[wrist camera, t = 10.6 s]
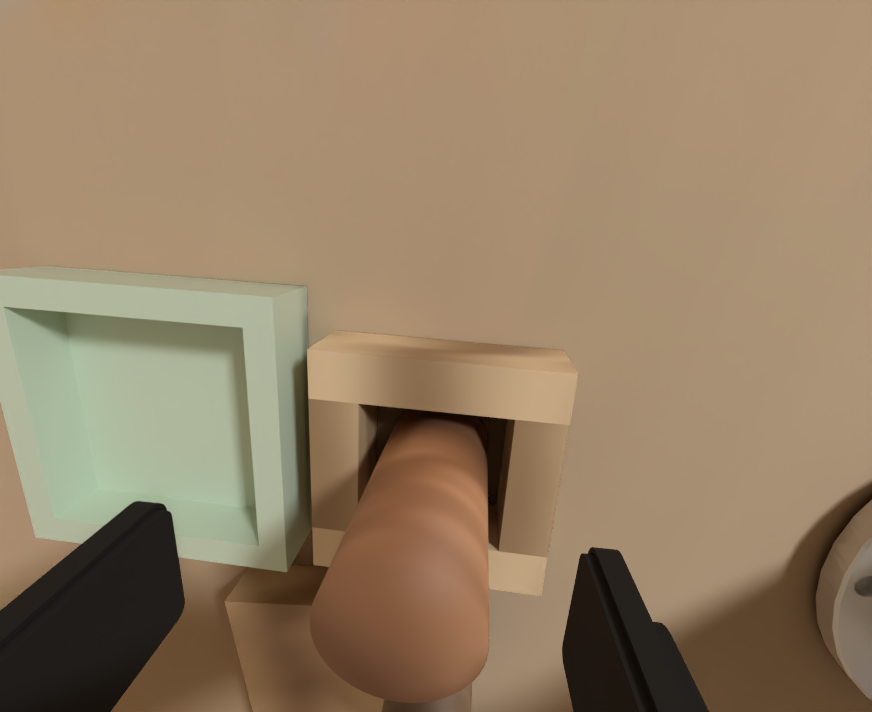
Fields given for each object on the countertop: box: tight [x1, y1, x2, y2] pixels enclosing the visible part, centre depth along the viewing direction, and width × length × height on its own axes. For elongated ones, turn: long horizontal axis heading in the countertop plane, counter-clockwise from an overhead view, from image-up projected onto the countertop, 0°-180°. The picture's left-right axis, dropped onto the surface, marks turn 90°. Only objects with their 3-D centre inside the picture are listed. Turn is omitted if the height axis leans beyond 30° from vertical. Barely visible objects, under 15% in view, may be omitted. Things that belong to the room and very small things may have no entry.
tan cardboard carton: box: [224, 565, 384, 712], centre depth 19 cm, size 6×8×2 cm
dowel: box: [309, 409, 489, 703], centre depth 12 cm, size 4×4×8 cm
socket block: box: [307, 331, 578, 596], centre depth 15 cm, size 8×8×2 cm
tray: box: [0, 266, 312, 572], centre depth 16 cm, size 10×10×2 cm
